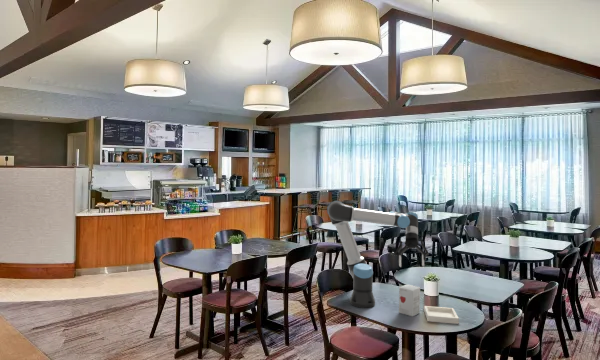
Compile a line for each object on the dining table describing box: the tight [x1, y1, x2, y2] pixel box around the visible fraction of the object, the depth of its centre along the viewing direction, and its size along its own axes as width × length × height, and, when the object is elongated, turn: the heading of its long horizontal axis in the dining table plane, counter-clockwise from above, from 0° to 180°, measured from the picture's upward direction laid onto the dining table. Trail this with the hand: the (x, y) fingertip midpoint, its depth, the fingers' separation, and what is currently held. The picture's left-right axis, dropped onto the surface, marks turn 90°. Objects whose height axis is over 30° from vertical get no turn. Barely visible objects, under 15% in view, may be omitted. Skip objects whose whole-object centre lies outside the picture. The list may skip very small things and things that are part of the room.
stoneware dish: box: [423, 305, 460, 325], centre depth 220 cm, size 16×16×3 cm
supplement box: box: [398, 284, 421, 317], centre depth 226 cm, size 9×9×15 cm
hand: (411, 265), depth 234 cm, fingers open, 13 cm apart
